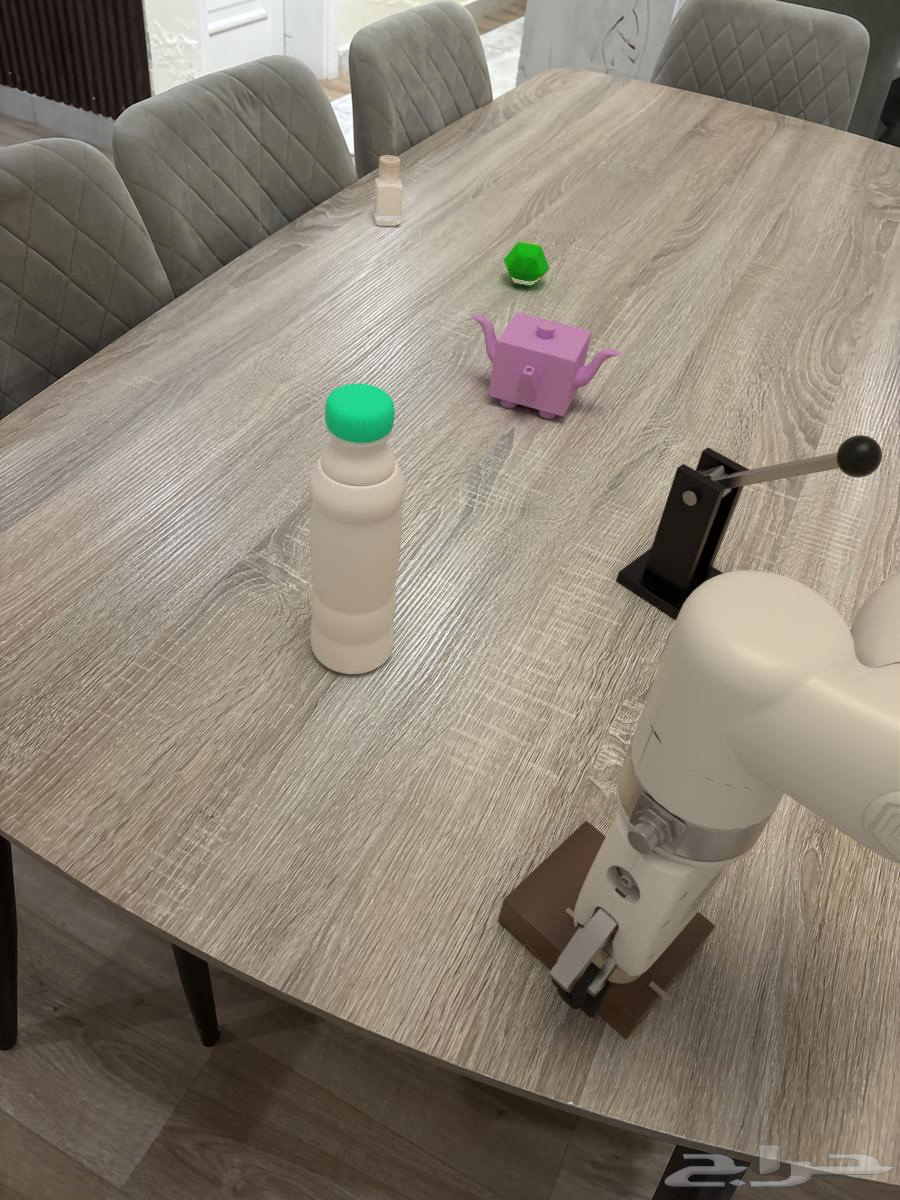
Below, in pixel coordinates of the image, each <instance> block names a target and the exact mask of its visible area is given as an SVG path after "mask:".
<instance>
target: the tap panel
mask: <svg viewBox="0 0 900 1200" xmlns="http://www.w3.org/2000/svg"><path fill="white" fill-rule="evenodd" d="M605 836H606V834H603V832H601V831H600V830H599V829H597V828H596V827H595V826H594V825H593V824H591V823H590V821H588V820H585V821H583V822H582V823H581V824H580V825H579V826H578V827H577V828H576V829H575V830H574V831H573V832H572V833H571V834H570V835H569V836H568V837H567V838H566V839H565V840H563V842H561V844H559V846H558V847H556V848H555V850H553V851H552V852H551V853H550V854H549V855H548V856H547V857H545V859H544V860H543V861H542V862H540V863H539V864H538V866H536V867H535V869H534V870H532V871H531V872H530V873H529V874H528V875H527V876H526V877H525V878H524V879H523V880H522V881H521V882H520V883H519V884H518V885H517V886H516V887H515V888H513V890H512V891H510V892H509V893H508V894H507V895H506V896H505V897H504V898H503V900H502V903H501V907H500V911H499V915H498V919H497V922H498V923H499V924H501V926H502V927H504V928H505V929H506V930H507V931H508V932H509V933H510V934H511V935H512V936H513V937H514V938H516V940H517V941H519V942H520V943H521V944H522V945H523V946H524V947H525V948H526V949H527V950H528V951H529V952H530V953H532V954H533V955H534V956H535V957H536V958H537V959H538V960H539V961H540V962H541V963H542V964H544V966H546V967H547V968H548V969H549V971H551V969H552V967H553V966H554V964H555V963H556V961H557V959H558V958H559V956H560V955H561V953H562V951H563V950H564V949H565V947H566V946H567V944H568V943H569V941H570V940H571V939H572V937H573V936H574V934H575V933H576V931H577V930H578V928H579V927H580V926H579V927H578V928H576V927H575V924H574V910H575V906H576V902H577V899H578V897H579V894H580V891H581V889H582V886H583V884H584V882H585V879H586V877H587V875H588V873H589V871H590V868H591V866H592V864H593V862H594V860H595V858H596V856H597V854H598V852H599V850H600V848H601V846H602V844H603V842H604V840H605ZM715 928H716V925H715V923H713V922H712V921H710V920H709V919H708V918H707V917H706V916H704V915H703V914H702V913H701V912H699V911H698V912H697V913H696V914H695V916H694V917H693V918H692V919H691V920H690V922H689V923H688V924H687V925H686V926H685V928H684V929H683V930H682V931H681V932H680V933H679V935H678V936H677V937H676V938H675V939H674V940H673V942H672V943H671V944H670V945H669V946H668V947H667V949H666V950H665V951H664V952H663V953H662V954H661V955H660V957H659V958H658V959H657V960H656V961H655V962H654V963H653V964H652V966H651V967H650V968H649V969H648V970H647V971H645V972H644V973H643V974H642V975H641V976H640V977H639V978H638V979H636V980H635V981H632V982H630V983H624V984H618V983H613V982H610V984H611V987H610V989H609V991H608V993H607V995H606V997H605V999H604V1001H603V1003H602V1005H601V1007H600V1009H599V1011H598V1012H597V1014H596V1015H598V1016H600V1018H602V1019H603V1020H604V1021H605V1022H606V1023H607V1024H608V1025H609V1026H610V1027H611V1028H612V1029H613V1030H614V1031H616V1032H617V1033H618V1034H619V1035H620V1036H621V1037H622V1038H623V1039H624V1040H625V1041H626V1040H628V1039H629V1038H630V1037H631V1035H632V1034H633V1033H634V1032H635V1031H636V1029H637V1028H638V1026H640V1025H641V1023H642V1022H643V1021H644V1020H645V1018H646V1017H647V1016H648V1014H649V1013H650V1012H651V1011H652V1010H653V1008H655V1006H656V1005H657V1003H658V1002H659V1001H660V1000H661V999H663V1000H664V1001H665V1002H668V1001H669V1000H670V999H671V996H670V995H669V994H668V993H667V991H669V990H670V988H671V986H672V985H673V984H674V983H675V982H676V980H677V979H678V978H679V977H680V975H681V974H682V973H683V972H684V970H685V969H686V968H688V966H689V965H690V963H691V962H692V961H693V960H694V959H695V957H696V956H697V955H698V954H699V952H701V950H702V949H703V947H704V945H705V944H706V943H707V941H708V939H709V938H710V936H711V934H712V933H713V931H714V929H715Z"/></svg>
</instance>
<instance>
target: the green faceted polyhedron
mask: <svg viewBox="0 0 900 1200" xmlns="http://www.w3.org/2000/svg"><path fill="white" fill-rule="evenodd" d="M503 262H504V265H505V268H506V270H507V272H508V275H509V274H510V275H509V277H510V276H511V277H513V278H515V279H519V280H524V281H535V280H537V279H538V278H540V277H542V276H543V277H544V276H545V274H546V273H547V272H548V271H549V270H550V266H549V263H548V261H547V258H546V255H545V253H544V250H543V247H542V246H541V244H538V243H533V242H527V241H517V242H516V244H515V245H514V246H513V247H512V249H510V251H509V252H508V253H507V254H506V256H505V257H504V258H503ZM511 277H510V280H511V282H512V283H513V284H514V285H518V286H525V287H534V286H536V285H537V284H538V282H539V281H540V280H538V281H537V282H535V283H534V284H532V285H525V284H519V283H514V282H513V281H512V279H511ZM543 277H542V278H543Z"/></svg>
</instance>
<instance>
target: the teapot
mask: <svg viewBox="0 0 900 1200" xmlns="http://www.w3.org/2000/svg"><path fill="white" fill-rule="evenodd" d="M470 316H471V318H472V319H474V320H475V321H476V322H477V323H478V324H479V325H480V327H481V329H482V332H483V338H484V345H485V351H486V354H487V355H486V356H487V357H488V359H489V361H490V362H491V364H492V368H491V375H490V382H489V383H490V384H489V387H488V388H489V389H488V394H487V395H488V396H489V397H492V398H495V399H499V400H500V405H501V406H503V407H504V408H507V409H513V408H516V407H517V406H518V405H520V406H524V407H527V408H531V409H534V410H538V414H539V416H540V417H541V418H543V419H548V420H549V419H550V420H551V419H554V418H555V417H556V416H560V417H565V415H566V413H567V412H568V410H569V407H570V406H571V403H572V402H573V399H574V398H575V396H576V394H577V392H578V390H579V389H580V388H583V387H586V386H587V385H588V384H590V383H591V381H592V380H594V378H595V377H596V375H597V374H598V371H599V370H600V369H601V367H602V365H603V363H605V362H606V361H607V360H608V359H610V358H613V357H617V356H618V357H619V356H621V355H622V353H623V352H621V351H619V350H616V349H609V348H606V349H602V350H600V351H598V352H597V354H595V355H594V357H593V359H592V360H591V362H589V364H588V365H585V364H586V360H587V356H588V351H589V346H590V341H591V338H592V333H593V332H592V330H589V329H586V328H585V329H584V328H581V327H577V326H574V325H570V324H566V323H562V322H559V321H557V320H551V319H547V318H543V317H538V316H534V315H531V314H530V315H529V314H526V313H522V312H519V311H516V312H515V313H514V315H513V317H512V318H511V319H510V321H509V322H508V324H507V326H506V327H505V329H504V330H503V331H502V333H501V334H500V335H499V336H498V338H497V336H496V335H497V334H496V332H495V327H494V325H493V323H492V322H491V320H490V319H489V318H488V317H485V316H484V315H481V314H477V313H471V314H470Z"/></svg>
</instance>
